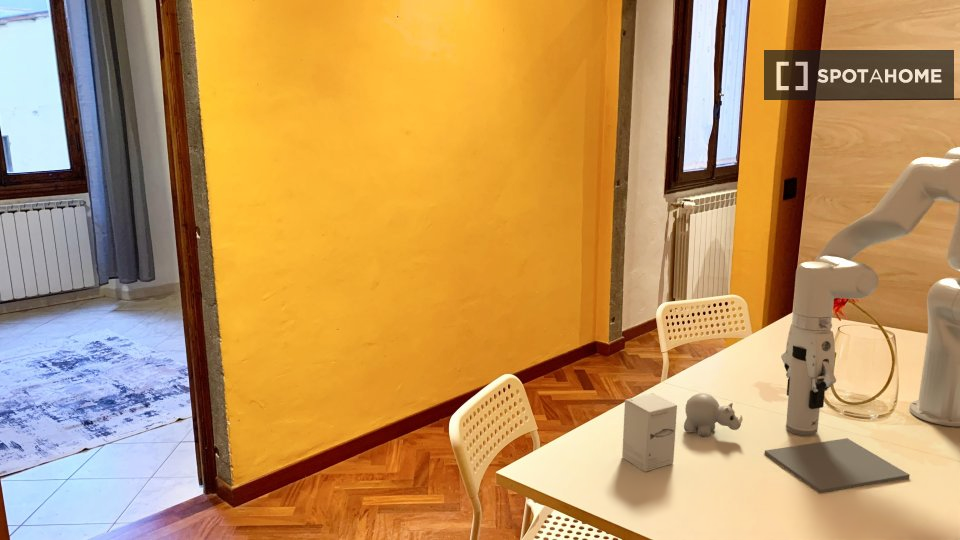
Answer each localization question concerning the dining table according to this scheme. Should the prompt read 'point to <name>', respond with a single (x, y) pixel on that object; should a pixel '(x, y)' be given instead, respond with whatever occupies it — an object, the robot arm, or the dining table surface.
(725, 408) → the chubby cartoon animal
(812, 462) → the mat
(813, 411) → the travel mug
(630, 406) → the supplement box
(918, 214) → the robot arm
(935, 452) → the dining table surface
